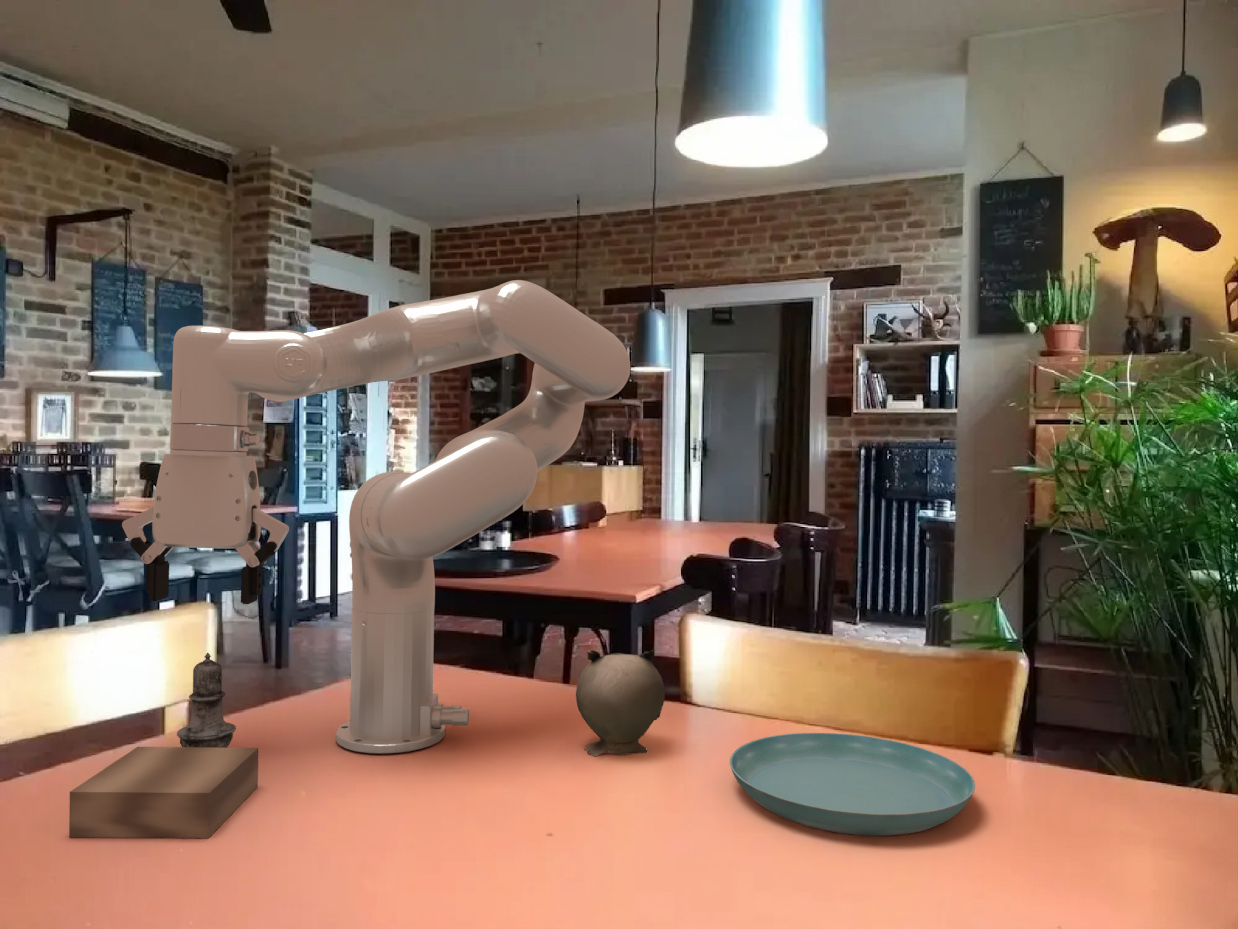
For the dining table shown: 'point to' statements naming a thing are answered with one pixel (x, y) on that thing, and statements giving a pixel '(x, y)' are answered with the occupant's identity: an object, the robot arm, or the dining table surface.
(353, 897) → the dining table surface
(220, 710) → the salt shaker
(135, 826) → the brown flat wooden block
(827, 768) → the teal plate
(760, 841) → the dining table surface
